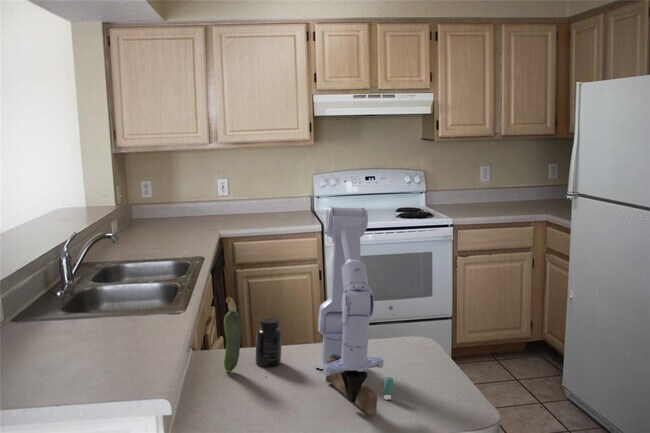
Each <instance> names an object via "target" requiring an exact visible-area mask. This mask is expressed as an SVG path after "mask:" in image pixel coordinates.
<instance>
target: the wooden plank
mask: <svg viewBox="0 0 650 433" xmlns="http://www.w3.org/2000/svg"><path fill="white" fill-rule="evenodd" d="M334 361H337V359H335V358H328V359H327V364H328V363H331V362H334ZM325 382H326V383H329V384H331V385H333V386H334V387H335V388H336V389H337V390H339V391H340V392H341V393H343V395H345V396H346V397H347V393H346V388H345V385H344V382H343V379H342V377H341V375H340V373H333V374H330V375H329V376H326V375H325ZM354 403H355V404H356V405H357V406H358V407H360V408H361V409H362V410H363V411H364V412H365V413H367V414H368V415H369V416H372V415H377V407H378V394H377V393H376V392H374V390H372V389H371V388H370V387H368V386H367V385H365V384H364V383H363V384H362V385H361V387H360V390H359V392H358V395H357V398H356V401H355V402H354Z"/></svg>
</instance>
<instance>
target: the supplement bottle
mask: <svg viewBox="0 0 650 433" xmlns="http://www.w3.org/2000/svg"><path fill="white" fill-rule="evenodd" d="M259 327H260V328H258V329H257V331H256V334H255V335H256V336H255V338H256V340H255V359H254V360H255V363H256V365H257V366H259V367H261V368H265V369H266V368H270V369H271V368H275V367H278V366H279V365H280V364H281V362H282V341H283V333H282V331H281V329H280V328H279V327H280V324H279V319H278V318H276V317H264V318H261V320H260V324H259Z"/></svg>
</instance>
